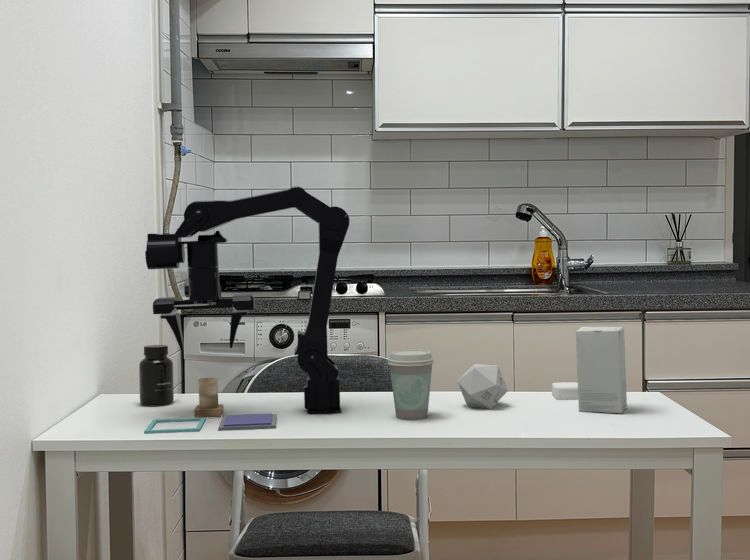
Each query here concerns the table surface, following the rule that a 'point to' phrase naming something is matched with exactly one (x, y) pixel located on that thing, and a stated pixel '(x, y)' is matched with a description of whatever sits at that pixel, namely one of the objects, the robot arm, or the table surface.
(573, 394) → the soap
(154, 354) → the supplement bottle
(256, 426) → the ink pad
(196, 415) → the stamp
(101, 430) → the table surface
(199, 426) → the teal flat square frame
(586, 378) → the skincare box
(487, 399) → the die
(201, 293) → the robot arm
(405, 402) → the coffee cup
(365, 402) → the table surface
